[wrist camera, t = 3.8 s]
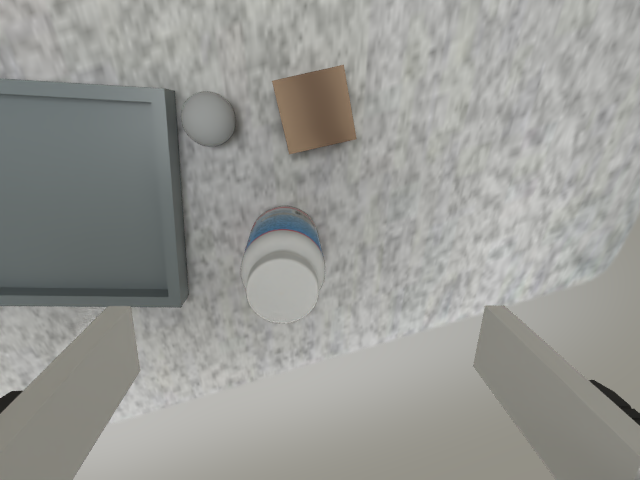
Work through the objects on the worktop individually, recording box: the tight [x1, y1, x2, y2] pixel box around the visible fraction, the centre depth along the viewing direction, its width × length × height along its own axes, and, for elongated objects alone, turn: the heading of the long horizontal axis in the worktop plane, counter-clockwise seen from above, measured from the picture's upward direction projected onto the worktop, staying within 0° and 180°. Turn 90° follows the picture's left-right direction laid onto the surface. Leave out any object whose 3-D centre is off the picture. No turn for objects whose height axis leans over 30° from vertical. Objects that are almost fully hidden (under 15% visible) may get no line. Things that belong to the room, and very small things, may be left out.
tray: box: [0, 79, 189, 307], centre depth 30 cm, size 18×18×2 cm
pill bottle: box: [241, 206, 325, 324], centre depth 28 cm, size 6×6×11 cm
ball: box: [181, 92, 236, 146], centre depth 28 cm, size 4×4×4 cm
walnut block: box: [272, 65, 356, 154], centre depth 28 cm, size 5×5×5 cm
